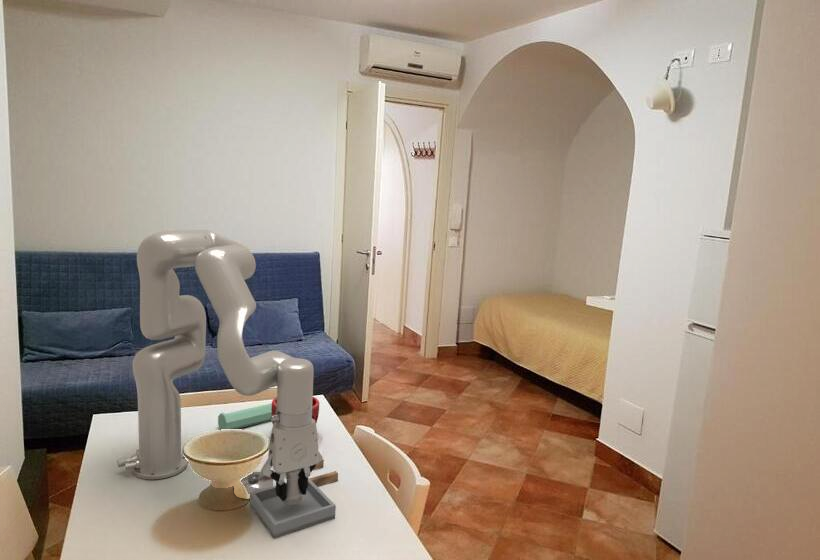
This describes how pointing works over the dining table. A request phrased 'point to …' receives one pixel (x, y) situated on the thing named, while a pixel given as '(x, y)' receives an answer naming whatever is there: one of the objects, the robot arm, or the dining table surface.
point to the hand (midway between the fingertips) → (291, 493)
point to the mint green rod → (245, 417)
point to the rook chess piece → (292, 488)
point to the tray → (291, 510)
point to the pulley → (257, 482)
